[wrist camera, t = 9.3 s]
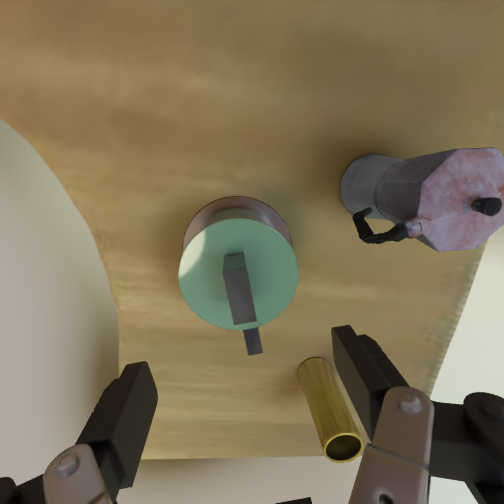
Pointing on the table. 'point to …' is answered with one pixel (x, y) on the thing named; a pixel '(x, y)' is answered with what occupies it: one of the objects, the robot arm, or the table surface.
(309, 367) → the vase
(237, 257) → the pot
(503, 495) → the robot arm
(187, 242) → the trivet
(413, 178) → the moka pot
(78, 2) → the table surface
